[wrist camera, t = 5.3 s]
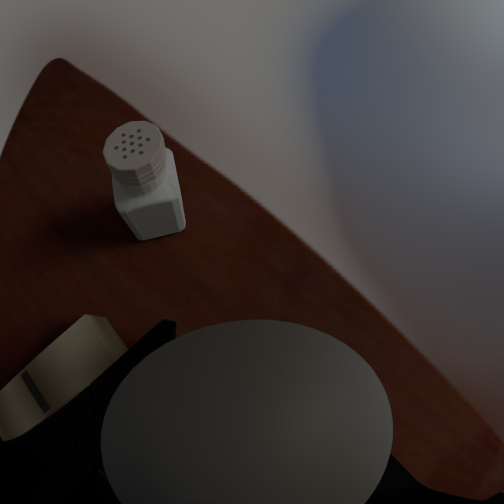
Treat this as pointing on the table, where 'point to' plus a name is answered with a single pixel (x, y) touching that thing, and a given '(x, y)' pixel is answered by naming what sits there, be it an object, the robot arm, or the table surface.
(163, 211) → the salt shaker
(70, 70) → the table surface
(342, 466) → the wooden peg
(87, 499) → the robot arm
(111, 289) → the table surface
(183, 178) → the table surface
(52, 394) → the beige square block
